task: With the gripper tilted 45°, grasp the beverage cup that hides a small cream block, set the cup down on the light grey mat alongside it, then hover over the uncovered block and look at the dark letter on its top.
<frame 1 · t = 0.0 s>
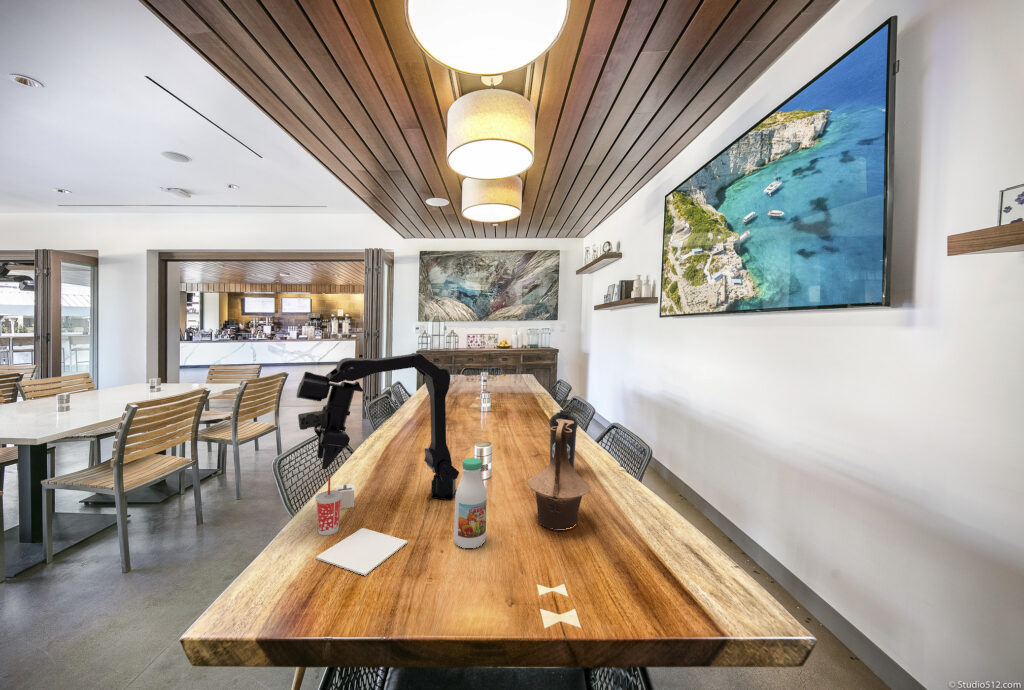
hand: (321, 463, 102), 15 cm above the table, tool pointing down, fingers open, 9 cm apart
beverage cup: (328, 531, 98), on the table
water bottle: (561, 474, 142), on the table
milk bottle: (469, 541, 95), on the table
pitcher: (557, 522, 106), on the table
letter block: (344, 504, 112), on the table
mat: (363, 551, 90), on the table
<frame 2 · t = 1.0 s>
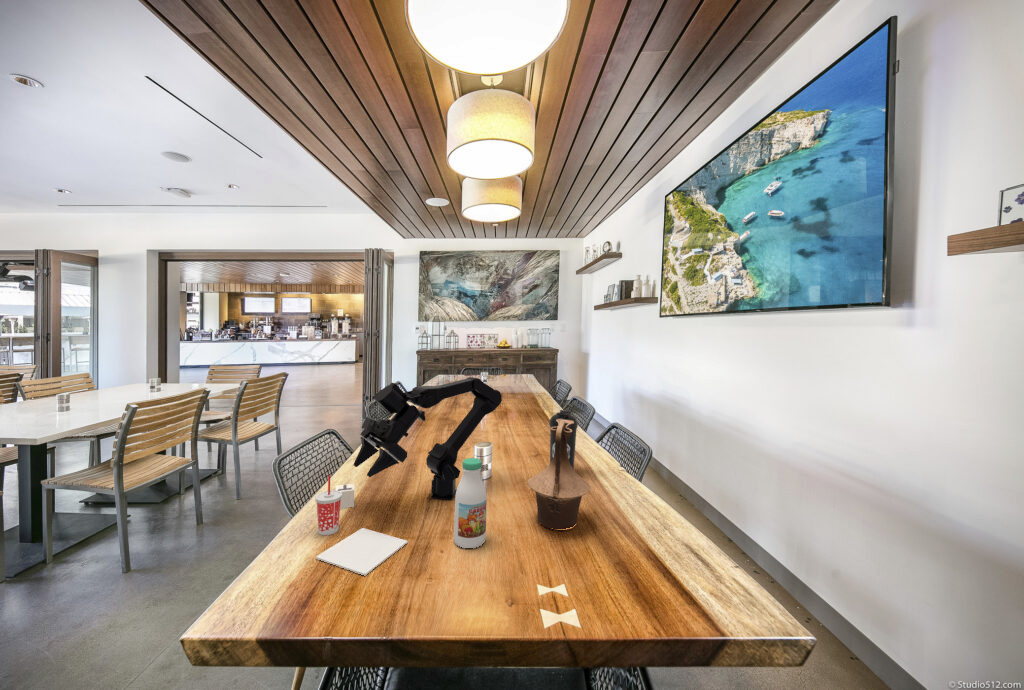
hand: (361, 471, 103), 13 cm above the table, tool tilted 45°, fingers open, 9 cm apart
nothing on the table moved.
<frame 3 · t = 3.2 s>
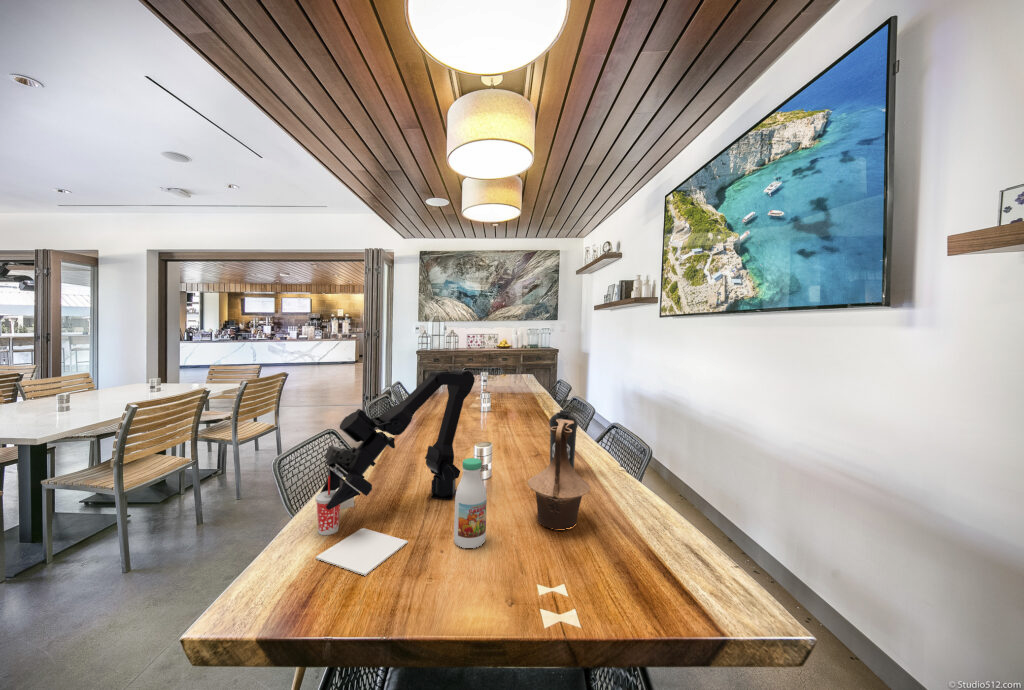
hand: (322, 504, 97), 7 cm above the table, tool tilted 45°, fingers closed on beverage cup, 6 cm apart
beverage cup: (328, 531, 98), on the table, touching gripper
everything else where it was.
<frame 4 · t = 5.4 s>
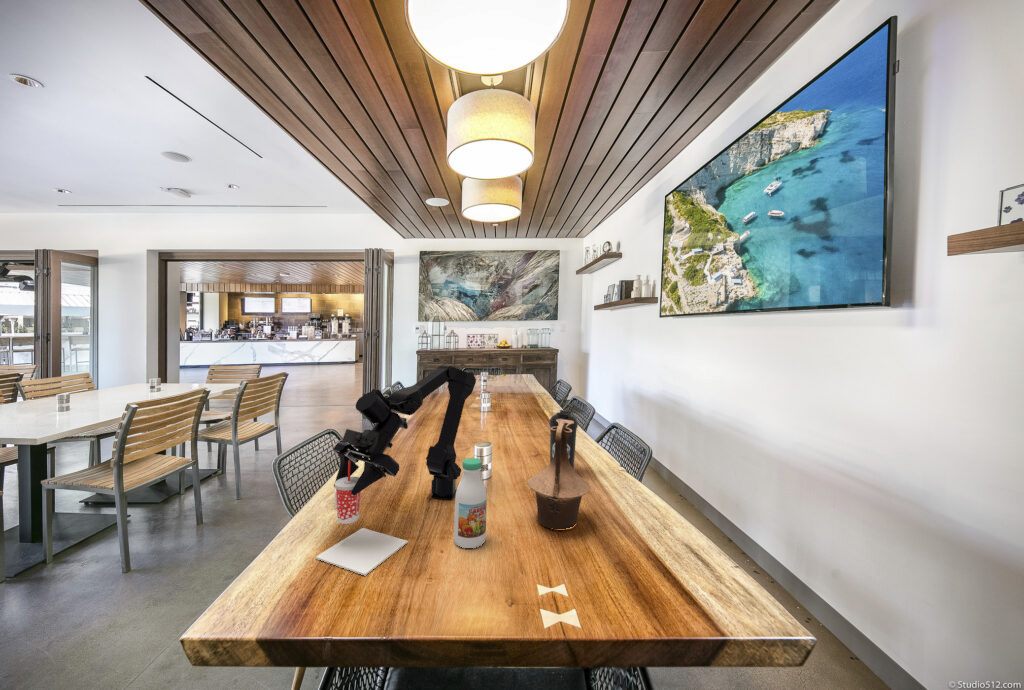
hand: (343, 491, 90), 13 cm above the table, tool tilted 45°, fingers closed on beverage cup, 6 cm apart
beverage cup: (348, 519, 92), point 6 cm above the table, touching gripper
everything else where it was.
when the fingers open (8 cm above the table, at t = 7.5 s): beverage cup stays where it is, resting on mat.
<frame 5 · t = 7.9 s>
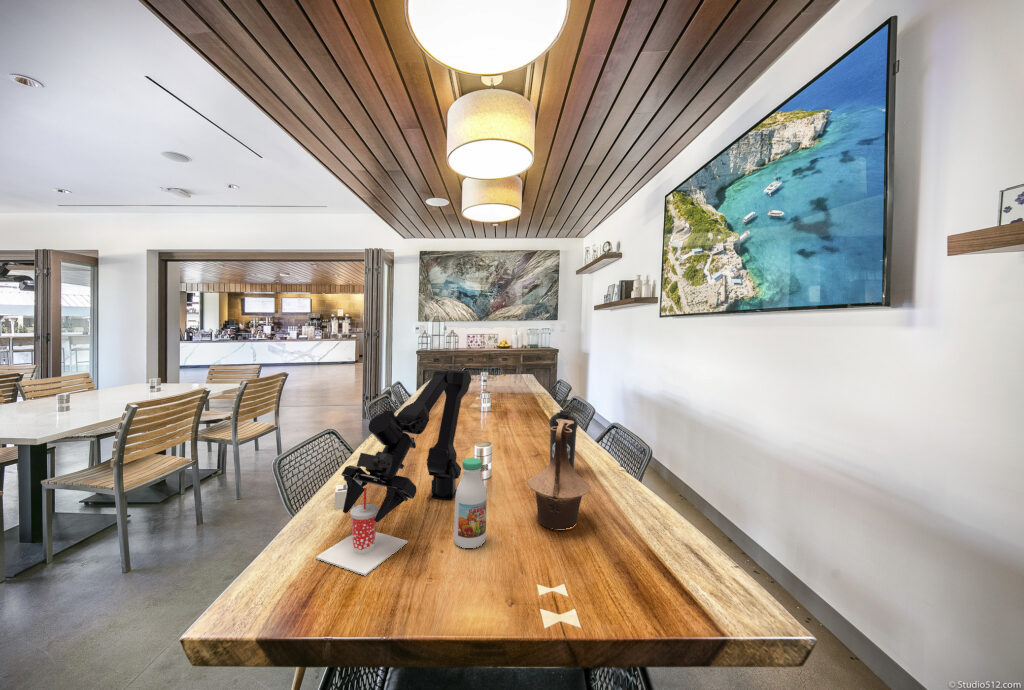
hand: (359, 517, 88), 9 cm above the table, tool tilted 45°, fingers open, 9 cm apart
beverage cup: (363, 548, 90), resting on mat
everything else where it was.
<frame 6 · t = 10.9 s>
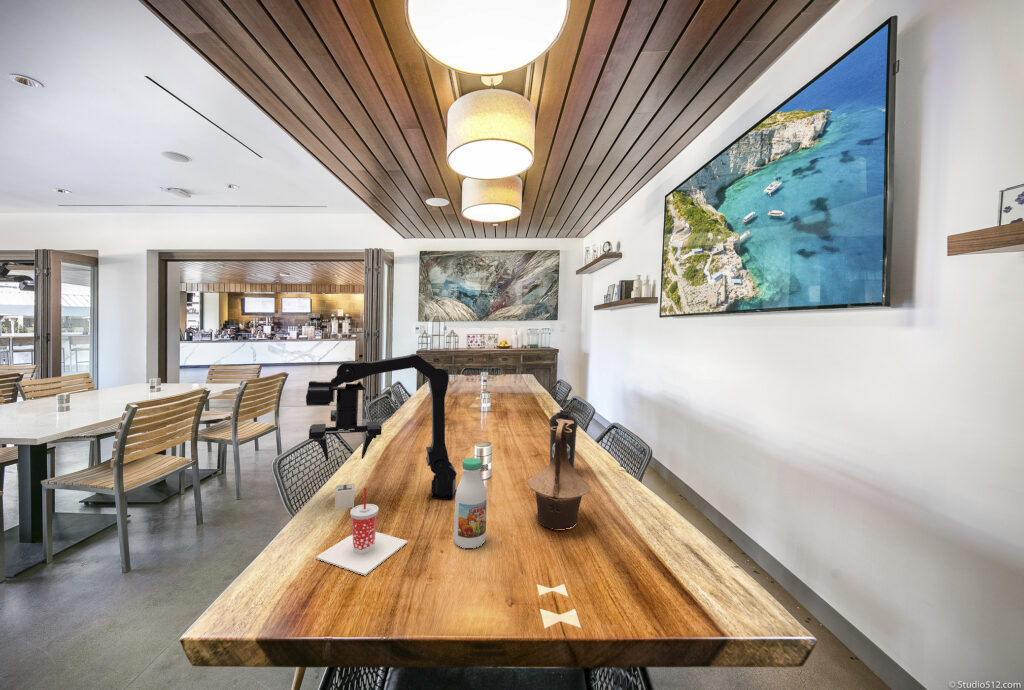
hand: (345, 459, 111), 13 cm above the table, tool pointing down, fingers open, 9 cm apart
nothing on the table moved.
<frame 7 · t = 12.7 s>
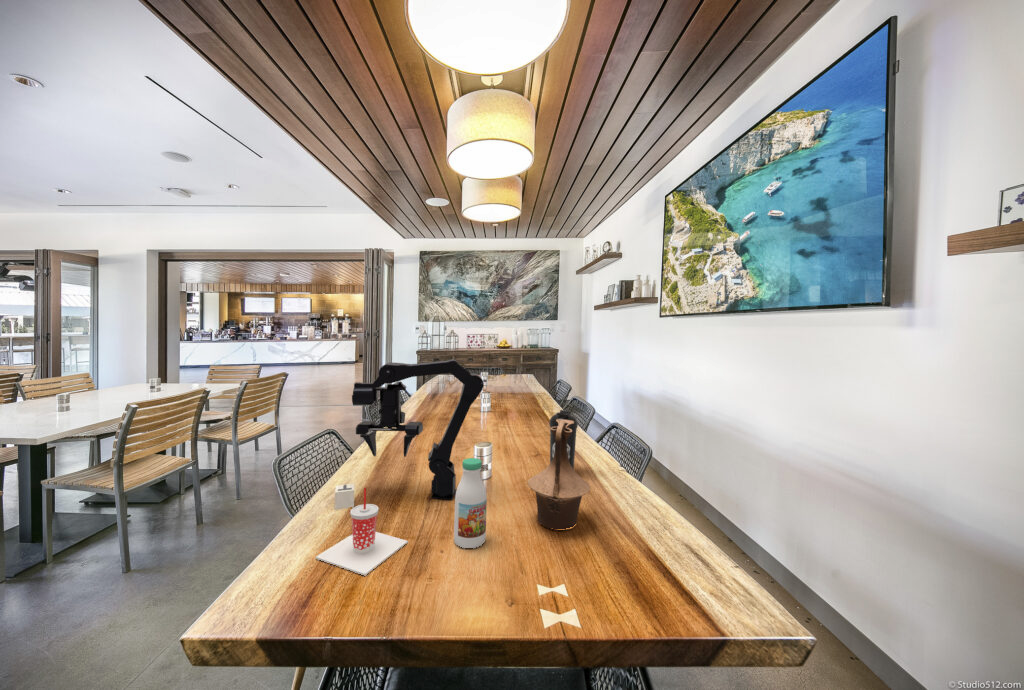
hand: (390, 456, 117), 13 cm above the table, tool pointing down, fingers open, 9 cm apart
nothing on the table moved.
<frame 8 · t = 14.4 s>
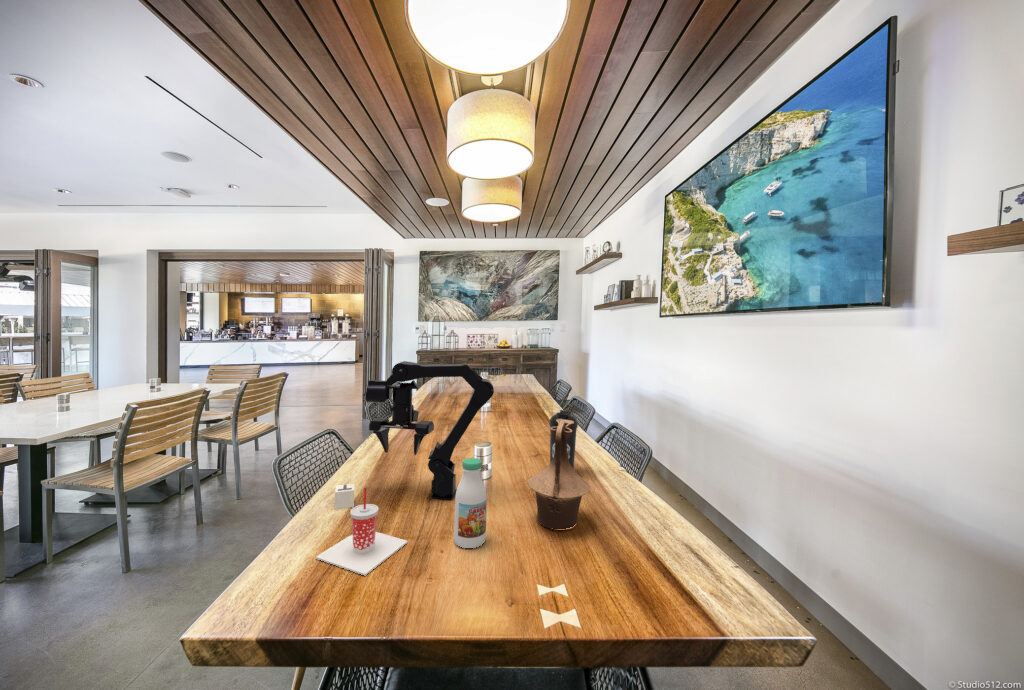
hand: (401, 453, 119), 13 cm above the table, tool pointing down, fingers open, 9 cm apart
nothing on the table moved.
at the end: beverage cup inside the target area on the mat (0.2 cm from its centre), point 0.4 cm above the mat's base; beverage cup tilted 0°; letter block moved 0.1 cm from its start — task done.
